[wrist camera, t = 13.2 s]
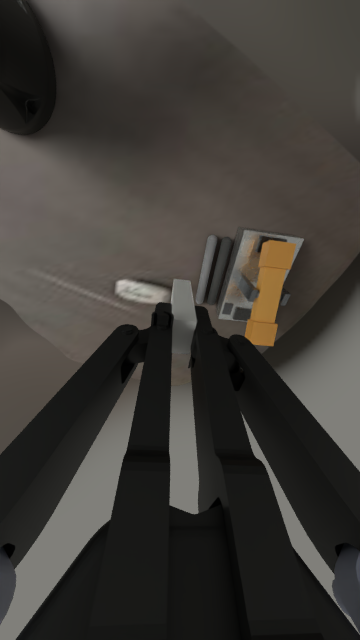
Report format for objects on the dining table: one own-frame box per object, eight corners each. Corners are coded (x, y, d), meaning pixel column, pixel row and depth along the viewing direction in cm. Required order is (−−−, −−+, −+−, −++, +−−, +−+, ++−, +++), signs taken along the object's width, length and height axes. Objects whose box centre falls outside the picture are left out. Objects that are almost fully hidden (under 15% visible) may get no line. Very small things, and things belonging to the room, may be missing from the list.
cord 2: (221, 235, 39) (223, 237, 37) (231, 236, 39) (233, 238, 37) (206, 302, 48) (207, 306, 46) (213, 303, 48) (214, 307, 46)
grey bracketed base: (238, 227, 38) (258, 236, 29) (293, 235, 39) (329, 246, 30) (215, 310, 49) (224, 336, 40) (258, 315, 50) (277, 341, 41)
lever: (262, 243, 35) (270, 239, 32) (286, 246, 35) (296, 243, 32) (244, 339, 38) (249, 344, 36) (266, 342, 39) (273, 346, 36)
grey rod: (207, 233, 39) (209, 235, 37) (217, 234, 39) (219, 236, 37) (194, 301, 47) (195, 304, 46) (202, 301, 47) (203, 305, 46)
